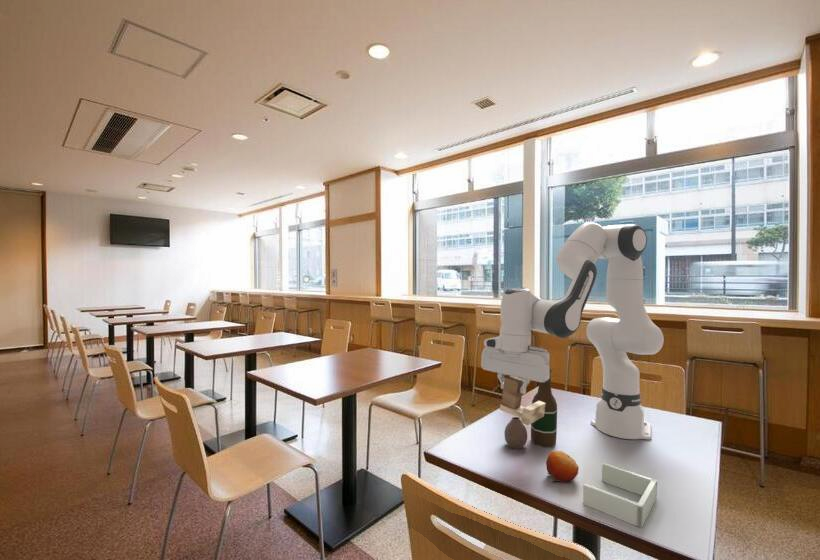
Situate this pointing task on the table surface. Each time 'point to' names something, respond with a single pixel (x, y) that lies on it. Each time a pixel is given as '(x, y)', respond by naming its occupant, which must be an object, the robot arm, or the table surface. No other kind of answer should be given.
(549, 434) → the beer bottle
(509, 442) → the vase
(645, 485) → the tray
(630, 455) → the table surface
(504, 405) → the angled wooden block structure
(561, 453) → the fruit
